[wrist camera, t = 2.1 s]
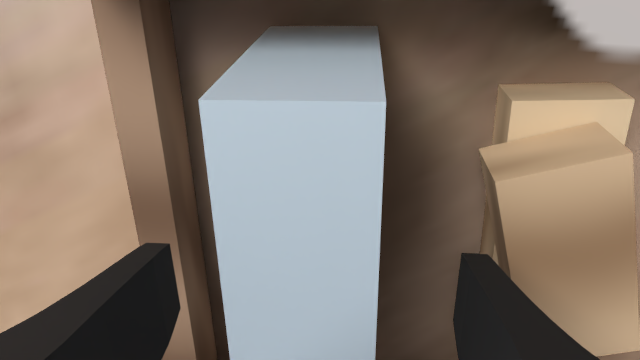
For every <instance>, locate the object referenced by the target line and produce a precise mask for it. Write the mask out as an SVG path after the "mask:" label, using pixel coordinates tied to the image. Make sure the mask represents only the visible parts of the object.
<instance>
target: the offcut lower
mask: <svg viewBox="0 0 640 360" xmlns="http://www.w3.org/2000/svg"><path fill="white" fill-rule="evenodd" d="M634 102H635V99H634V98H633V97H631V96H629V95H628V94H626V93H625V92H623V91H622V90H620V89H619V88H617V87H616V86H614V85H612V84H611V83H609V82H597V83H547V84H498V93H497V102H496V111H495V121H494V130H493V139H492V145H497V144H501V143H506V142H510V141H514V140H519V139H523V138H528V137H532V136H536V135H541V134H545V133H549V132H554V131H558V130H563V129H567V128H571V127H576V126H580V125H585V124H589V123H593V122H598V123H599V124H600V125H601V126H602V127H604V128H605V129H606V130H607V131H608V132H609V133H611V134H612V135H613V136H614V137H615V138H616V139H618V140H619V141H620V142H621V143H622V144H623V145H624V146H625V141H626V137H627V132H628V128H629V124H630V119H631V115H632V111H633V106H634ZM480 254H488V255H489V256H490V257H491V258H492V259H493V260H494V261H495V262H496V263H497V265H498V266H499V263H498V258H497V252H496V246H495V241H494V235H493V229H492V223H491V218H490V212H489V206H488V201H487V195H486V203H485V212H484V221H483V230H482V240H481V249H480Z"/></svg>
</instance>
